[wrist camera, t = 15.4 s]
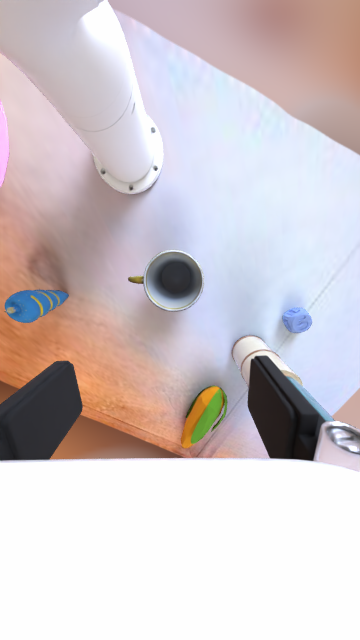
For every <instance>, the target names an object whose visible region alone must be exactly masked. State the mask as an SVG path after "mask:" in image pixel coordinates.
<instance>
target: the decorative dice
mask: <svg viewBox="0 0 360 640" xmlns="http://www.w3.org/2000/svg"><path fill="white" fill-rule="evenodd" d="M283 322H284V325H285V326H286V328H287V329H288V330H289V331H290V332H292V333H301V332H304V331H306V330H308V329H309V328H310V326H311V324H312V319H311V316H310V315H309V313H308V312H307V311H306V310H305V309H303V308H294V309H291V310H288V311H287V312H285V313H284V315H283Z"/></svg>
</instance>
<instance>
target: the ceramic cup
mask: <svg viewBox="0 0 360 640" xmlns="http://www.w3.org/2000/svg"><path fill="white" fill-rule="evenodd" d="M128 280H129V281H130V282H133V283H138V284H144V289H145V292H146V294H147V296H148V298H149V299H150V300H151V302H152V303H153V304H155V305H156V306H157V307H159V308H161V309H163V310H166V311H171V312H177V311H182V310H185V309H187V308H189V307H191V306H192V305H193V304H194V303H195V302H196V301H197V300H198V299H199V297H200V295H201V293H202V291H203V287H204V276H203V272H202V269H201V267H200V265H199V264H198V262H197V261H196V260H195V259H194V258H193V257H192V256H191V255H189V254H187V253H185V252H183V251H179V250H168V251H164V252H161V253H159V254H158V255H156V256H155V257H154V258H153V259H152V260H151V261H150V262H149V263H148V265H147V267H146V269H145V272H144V276H134V277H129V278H128Z"/></svg>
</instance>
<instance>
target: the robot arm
mask: <svg viewBox="0 0 360 640" xmlns="http://www.w3.org/2000/svg"><path fill="white" fill-rule="evenodd" d="M0 53H2V54H3V55H4V56H5V57H6V58H7V59H9V60H10V61H11V62H12V63H13V64H14V65H15V66H16V67H17V68H18V69H19V70H20V71H22V72H23V73H24V74H25V75H26V76H27V78H28V79H29V80H30V81H31V82H32V83H33V84H34V85H35V86H36V87H37V88H38V89H39V91H40V92H41V93H42V94H43V95H44V96H45V97H46V98H47V100H48V101H49V102H50V103H51V104H52V106H53V107H54V108H55V109H56V110H57V111H58V113H59V114H60V115H61V116H62V118H63V119H64V120H65V121H66V122H67V123H68V125H69V126H70V127H71V128H72V129H73V131H74V132H75V133H76V134H77V135H78V136H79V138H80V139H81V140H82V141H83V142H84V144H85V145H86V146H87V147H88V148H89V149H90V151H91V152H92V155H93V159H94V163H95V166H96V168H97V170H98V172H99V174H100V175H101V177H102V178H103V179H104V180H105V182H106V183H107V184H108V185H109V186H111V187H112V188H114V189H115V190H117V191H119V192H121V193H125V194H137V193H141V192H143V191H145V190H147V189H148V188H149V187H151V186H152V185H153V183H154V182H155V181H156V179H157V178H158V176H159V174H160V171H161V169H162V164H163V145H162V140H161V136H160V134H159V131H158V129H157V127H156V125H155V124H154V122H153V121H152V120H151V119H150V117H149V116H148V115H146V114H145V110H144V106H143V103H142V99H141V95H140V91H139V87H138V83H137V80H136V76H135V72H134V68H133V64H132V61H131V57H130V53H129V50H128V46H127V43H126V39H125V36H124V33H123V31H122V28H121V26H120V24H119V21H118V19H117V17H116V15H115V13H114V11H113V9H112V8H111V6H110V5H109V3H108V1H107V0H0ZM153 132H155V133H153ZM155 169H157V171H155ZM104 172H105V174H104ZM131 188H133V190H131ZM82 407H83V406H82V401H81V397H80V392H79V388H78V384H77V379H76V375H75V370H74V366H73V364H71V363H70V362H69V361H56V362H54V363H53V364H52V365H50V366H49V367H48V368H46V369H45V370H44V371H43V372H41V373H40V374H39V375H37V376H36V377H35V378H34V379H32V380H31V381H30V382H28V383H27V384H26V385H25V386H23V387H22V388H21V389H19V390H18V391H17V392H16V393H15V394H13V395H12V396H10V397H9V398H8V399H7V400H5V401H4V402H3V403H1V404H0V640H360V430H359V429H358V428H356V427H354V426H351V425H349V424H346V423H343V422H337V421H327V422H326V421H325V419H324V418H323V417H322V416H321V415H320V414H319V413H318V412H317V410H316V409H315V408H314V407H313V406H312V405H311V404H310V403H309V401H308V400H307V399H306V398H305V397H304V396H303V395H302V394H301V392H300V391H299V390H298V389H297V388H296V387H295V386H294V385H293V383H291V382H290V380H289V379H288V378H287V377H286V376H285V375H284V374H283V373H282V371H281V370H280V369H279V368H278V367H277V366H276V365H275V364H274V362H273V361H272V360H271V359H270V358H269V357H268V356H267V355H262V356H255V357H254V359H251V363H250V377H249V391H248V408H249V411H250V413H251V416H252V418H253V420H254V423H255V425H256V427H257V429H258V432H259V434H260V436H261V439H262V441H263V443H264V445H265V448H266V450H267V452H268V455H269V457H270V458H144V459H65V460H64V459H63V460H62V459H61V460H49V459H50V458H51V456H52V455H53V453H54V452H55V450H56V449H57V447H58V446H59V444H60V443H61V441H62V440H63V438H64V437H65V436H66V434H67V433H68V431H69V430H70V428H71V427H72V425H73V424H74V422H75V421H76V419H77V418H78V417H79V415H80V414H81V412H82Z"/></svg>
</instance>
